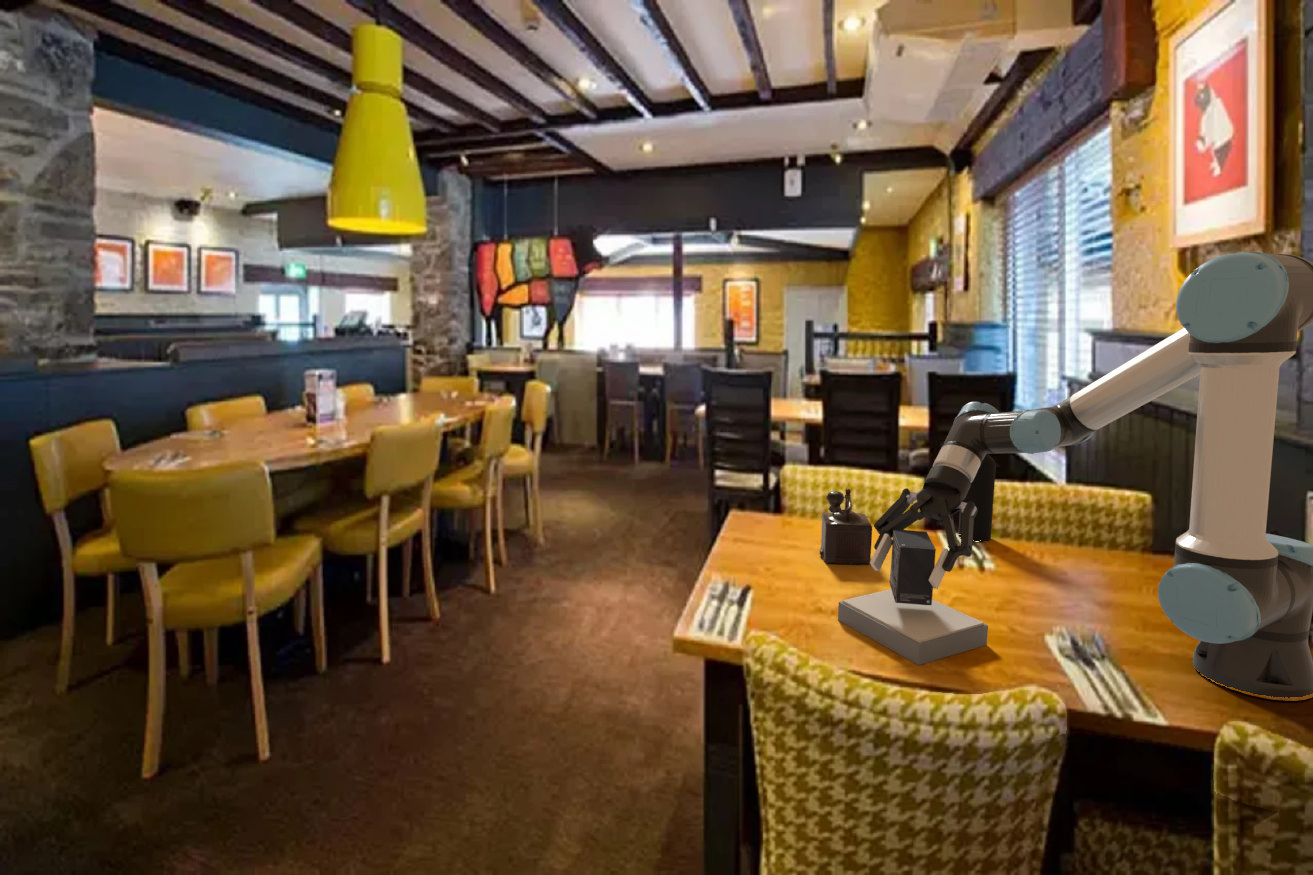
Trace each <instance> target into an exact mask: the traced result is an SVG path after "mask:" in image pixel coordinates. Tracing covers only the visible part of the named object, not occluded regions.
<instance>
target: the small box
mask: <svg viewBox="0 0 1313 875" xmlns="http://www.w3.org/2000/svg"><path fill="white" fill-rule="evenodd" d="M892 540H893V542H892V546H891V548H892V549H891V560H890V573H889V586H890V589H892V593H893V596H894V600H895V603H906V604H918V605H932V600H933V594H934V593H933V592H934V588H933V586H932V585H931V583H930V582H929V578H930V576H931V574H932V572H933V569H934V567H935V565H936V551H937V550H936V546H935V545H934V544H933V543H934V542H933V541H932V539H931V537H930V535H929V533H928V531H921V530H911V529H910V530H909V529H904V530H900V529H893V537H892Z"/></svg>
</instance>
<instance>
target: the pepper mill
mask: <svg viewBox="0 0 1313 875" xmlns="http://www.w3.org/2000/svg"><path fill="white" fill-rule="evenodd" d="M851 493H852V490H851V489H850V488H846V489H845V494H844V493H842V492H841V491H838V490H833V491H830V492H828V494H827V495H826V501H827V503H828V505H829V507H828V509H827V510H828V511H829V512H822V515H821V538H820V542H821V544H820V548H819V549H820V550H819V555H820V556H821V558H822V559H823V562H825V563H826V564H832V565H849V566H868V565H870V566H871V564H870V561H871V553H872V542H873V541H872V539H873V525H872V524H871V522H870V520H869V519H868V517H867V516H866V514H865V513H858V512H855V511H852V509H853V504H852V494H851ZM844 501H845V502H844ZM843 503H844V504H845V506H844V509H842V507H841V505H842V504H843Z"/></svg>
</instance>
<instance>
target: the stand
mask: <svg viewBox="0 0 1313 875" xmlns="http://www.w3.org/2000/svg"><path fill="white" fill-rule="evenodd" d="M837 611H838V612H837V614H838V615H837V621H838V622H840V623H843V624H844V625H846V626H848V627H849V628H852V629H853V630H855V631H857V632H858V633H860V634H862V635H864V636H866V637H867V638H869V639H872V641H875V642H876V643H878V644H879V645H882V646H884V647H886V648H887V649H889V650H890V651H893V652H894V653H896V654H898V655H900V656H901V657H902V658H905V659H907V660H909V661H910V662H912V663H913V664H915V665H917V666H921V665H923V664H924V665H925V664H927V663H930V662H934V661H937V660H940V659H944V658H947V657H950V656H954V655H957V654H960V653H963V652H967V651H970V650H974V649H977V648H981V647H984V646H987V645H988V633H989V632H988V631H989V625H988V624H986V623H985V622H984V621H982V620H979V619H977V618H975V617H972V616H970V615H967V614H966V613H964V612H961V611H959V610H957V609H954V608H952V607H950V606H948V605H945V604H944V603H941V602H938V601H936V600H934V599H932V605H918V604H906V603H895V600H894V596H893V593H892V589H891V588H890V589H886V590H885V589H884V590H881V591H876V592H873V593H869V594H863V595H860V596H856V597H855V596H854V597H852V598H847V599H843V600H841V601H838V610H837Z"/></svg>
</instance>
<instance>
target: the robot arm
mask: <svg viewBox="0 0 1313 875" xmlns="http://www.w3.org/2000/svg"><path fill="white" fill-rule="evenodd" d="M1175 309H1176V314H1177V315H1176V316H1177V320H1178V321H1179V323H1180V325H1181V326H1182V328H1180V329H1179V330H1177V331H1176V332H1174V333H1172V334H1170V335H1169V336H1167V337H1166V338H1164V339H1163V340H1161V341H1159V342H1158V343H1156V344H1154V345H1152V346H1151V347H1149V348H1148V349H1146V350H1144V351H1142V352H1141V353H1139V354H1137V355H1136V356H1134V357H1133V358H1132V359H1129V360H1128V361H1126V362H1125V363H1123V364H1121V365H1120V366H1118V367H1117V368H1115V369H1113V370H1111V371H1110V372H1108V373H1106V374H1105V375H1104V376H1102V377H1100V378H1098V379H1097V380H1095V381H1093V382H1091V383H1090V384H1087V385H1086V386H1085V387H1084V388H1082V389H1080V390H1079V391H1077V392H1075V393H1074V394H1072V395H1071V396H1069V397H1067V398H1066V399H1064V400H1062V401H1061V402H1058V403H1057V404H1055V405H1052V406H1048V407H1047V406H1046V407H1042V408H1032V409H1027V410H1025V409H1023V410H1017V411H1007V412H999V410H998V409H997V408H996V407H994V406H992V405H991V404H989V403H986V402H984V403H982V402H980V401H970V402H968V403H966V404H965V405H963V406H962V407H961V410H960V411H959V413H958V414H957V416H956V417H955V418H954V419H953V420H954V421H953V424H952V426H951V428H950V429H949V431H948V435H947V436H946V439H945V440H944V442H943V445H942V446H941V448H940V450H939V452H938V454H937V456H936V458H935V459H934V462H933V463H932V467H931V468H930V470H929V472H928V474H927V475H926V478H925V480H924V482H923V486H922V488H921V489H920V490H919V491H918V492H915V491H910V489H909V488H904V489H903V490H902V492H901V494H900V496H899V497H898V498H897V500H895V502H894V503H893V504H892V505H891V506H890V507H889V508H887V510H886V511H885V512H884V513H883V514H882V515H881V516H880V517H879V519H877V520H876V521H875V522H874V524H873V528H875V530H876V532H877V533H878V538H877V540H876V542H875V543H874V546H873V548H874V550H875V552H874V554H873V555H872V557H871V558H870V566H871V567H872V569H873V570H874V571H876V572H879V571H880V570H881V568H882V566H883V564H884V562H885V560H886V557H887V556H888V554H889V553H890V550H891V548H892V542H893V529H900V530H906V529H907V528H908V527H909V526H911V525H912V524H914V523H915V522H917V521H921V520H922V519H924V518H925V519H926V518H927V519H935V520H937V521H939V522H943V528H944V530H945V536H946V540H947V544H948V546H947V547H948V548H945V547H944V548H943V549H942V551H941V552H940V554H939V557H938V559H937V562H935V567H934V569H933V572H932V574H931V576H930V578H929V582H930V583H931V585H932V586H933V589H936V590H938V589H939V588H940V585H941V583H942V581H943V578H944V576H945V575H946V572H947V573H950V572H951V571H952V570H953V568H954V566H955V564H956V561H957V560H958V558H959V557H961V556H962V557H963V556H965V557H966V558H969V557H971V556H972V554H973V543H974V542H973V525H974V518H975V516H976V514H977V512H978V510H977V508H976V506H975V504H974V502H972V501H969V502H968V503H964V502H963V500H964V499H965V497H966V495H967V493H968V490H969V488H970V486H971V483H972V481H973V480H974V477H975V475H976V473H977V471H978V469H979V467H980V465H981V463H982V461H983V459H984V457H985V455H986V454H988V455H989V454H991V455H992V454H993V455H995V454H1029V455H1031V454H1032V455H1035V454H1038V453H1039V454H1041V453H1046V452H1047V453H1048V452H1051V451H1053V450H1054V449H1055V448H1059V447H1065V446H1067V447H1069V446H1075V445H1079V444H1081V443H1083V442H1086V441H1088V440H1089V439H1091V438H1092V437H1093V436H1094V435H1095V432H1096V431H1098V430H1100V429H1101V428H1103V427H1105V426H1107V425H1109V424H1111V423H1112V422H1114V421H1116V420H1118V419H1120V418H1122V417H1123V416H1125V415H1127V414H1129V413H1131V412H1133V411H1134V410H1137V409H1139V408H1140V407H1141V406H1144V405H1146V404H1148V403H1150V402H1151V401H1153V400H1154V399H1157V398H1158V397H1161V396H1163V395H1165V394H1166V393H1168V392H1170V391H1172V390H1174V389H1175V388H1177V387H1179V386H1181V385H1183V384H1185V383H1187V382H1188V381H1190V380H1192V379H1194V378H1195V377H1197V376H1199V383H1198V384H1199V385H1198V386H1199V387H1198V401H1197V415H1196V430H1195V441H1194V442H1195V443H1194V454H1193V458H1194V459H1193V473H1192V488H1191V500H1190V516H1189V529H1187V531H1186V532H1184V533H1183V534H1180V535H1179V536H1177V537H1176V539H1175V548H1174V564H1173V566H1172V567H1170V568H1169V569H1168V570H1167V571H1165V573H1164V574H1163V576H1162V577H1161V579H1160V580H1159V583H1158V587H1157V598H1158V602H1159V605H1160V607H1161V609H1162V612H1163V613H1164V614H1165V616H1166V617H1167V618H1168V619H1169V620H1170V621H1171V622H1172V624H1174V626H1175V627H1176V628H1177V629H1178V630H1180V631H1181V632H1183V633H1184V634H1186V635H1188V636H1189V637H1190V638H1193V639H1196V640H1198V642H1197V645H1196V646H1195V647H1194V650H1193V656H1192V663H1193V664H1192V667H1193V666H1194V667H1195V669H1196V670H1198V671H1199V672H1200V673H1201V674H1203V675H1204V676H1206V677H1207V678H1210V679H1212V680H1214V681H1215V682H1217V683H1220V684H1223V685H1225V686H1227V687H1233V688H1235V689H1238V690H1241V691H1246V692H1250V693H1253V694H1258V695H1266V696H1271V697H1272V696H1273V697H1284V698H1285V697H1288V698H1290V697H1303V696H1306V695H1310V694H1312V693H1313V656H1312V652H1311V649H1310V646H1309V634H1310V629H1311V624H1312V623H1311V622H1312V618H1313V617H1312V616H1313V545H1312V544H1311V543H1308V542H1305V541H1302V540H1298V539H1294V538H1290V537H1285V536H1280V535H1276V534H1271V533H1267V522H1268V521H1267V520H1268V510H1269V500H1270V499H1269V498H1270V486H1271V485H1270V484H1271V474H1272V473H1271V472H1272V460H1273V450H1274V449H1273V448H1274V438H1275V437H1274V436H1275V429H1276V428H1275V424H1276V415H1277V403H1278V402H1277V401H1278V389H1279V388H1278V387H1279V380H1280V369H1281V368H1280V367H1281V366H1282V364H1283V363H1285V362H1286V361H1287V360H1289V359H1290V358H1291V357H1293V356H1294V355H1296V353H1297V347H1298V346H1297V344H1298V335H1299V332H1300V331H1302V330H1304V329H1305V328H1307V327H1308V326H1310V325H1311V324H1313V262H1312V261H1310V260H1308V259H1307V258H1304V257H1301V256H1298V255H1293V254H1285V253H1268V252H1267V253H1266V252H1260V251H1248V252H1247V251H1241V252H1236V253H1228V254H1223V255H1219V256H1216V257H1214V258H1212V259H1209V260H1207V261H1206V262H1204V263H1202V264H1200V265H1199V266H1198V267H1197V268H1196V269H1194V270H1193V272H1191V273H1190V274H1189V275H1188V276H1187V277H1186V279H1184V281H1183V283H1182V285H1181V287H1180V289H1179V290H1178V293H1177V296H1176V303H1175ZM914 502H915V503H914ZM961 509H962V510H961ZM960 510H961V511H962V513H963V516H962V531H961V538H960V545H959V543H958V542H959V541H958V538H957V533H956V529H955V523H954V517H953V515H955V514H957V513H958V512H960ZM1194 667H1193V668H1194ZM1195 669H1194V670H1195ZM1196 670H1195V671H1196Z"/></svg>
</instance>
